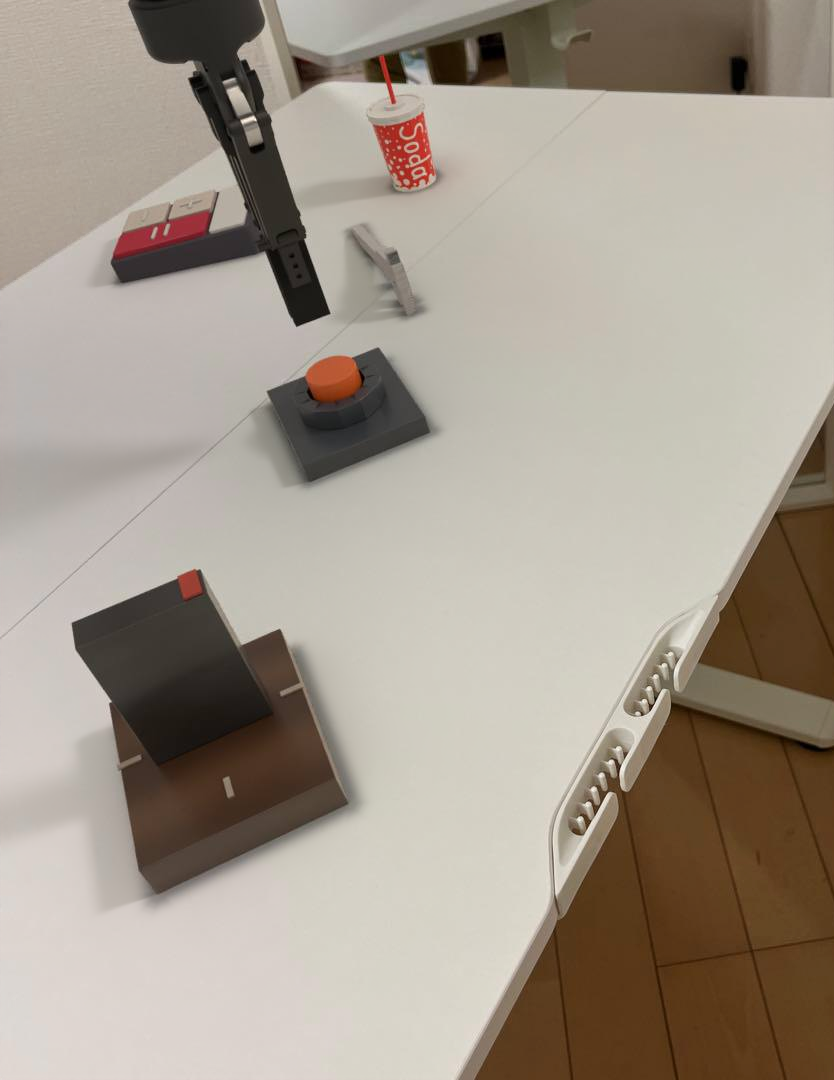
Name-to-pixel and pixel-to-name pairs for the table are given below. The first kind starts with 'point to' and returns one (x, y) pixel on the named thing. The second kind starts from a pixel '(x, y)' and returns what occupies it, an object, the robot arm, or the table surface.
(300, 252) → the robot arm
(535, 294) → the table surface
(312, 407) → the button block
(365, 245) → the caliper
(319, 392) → the button
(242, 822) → the panel
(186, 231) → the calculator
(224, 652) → the red-tabbed grey box
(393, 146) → the beverage cup
